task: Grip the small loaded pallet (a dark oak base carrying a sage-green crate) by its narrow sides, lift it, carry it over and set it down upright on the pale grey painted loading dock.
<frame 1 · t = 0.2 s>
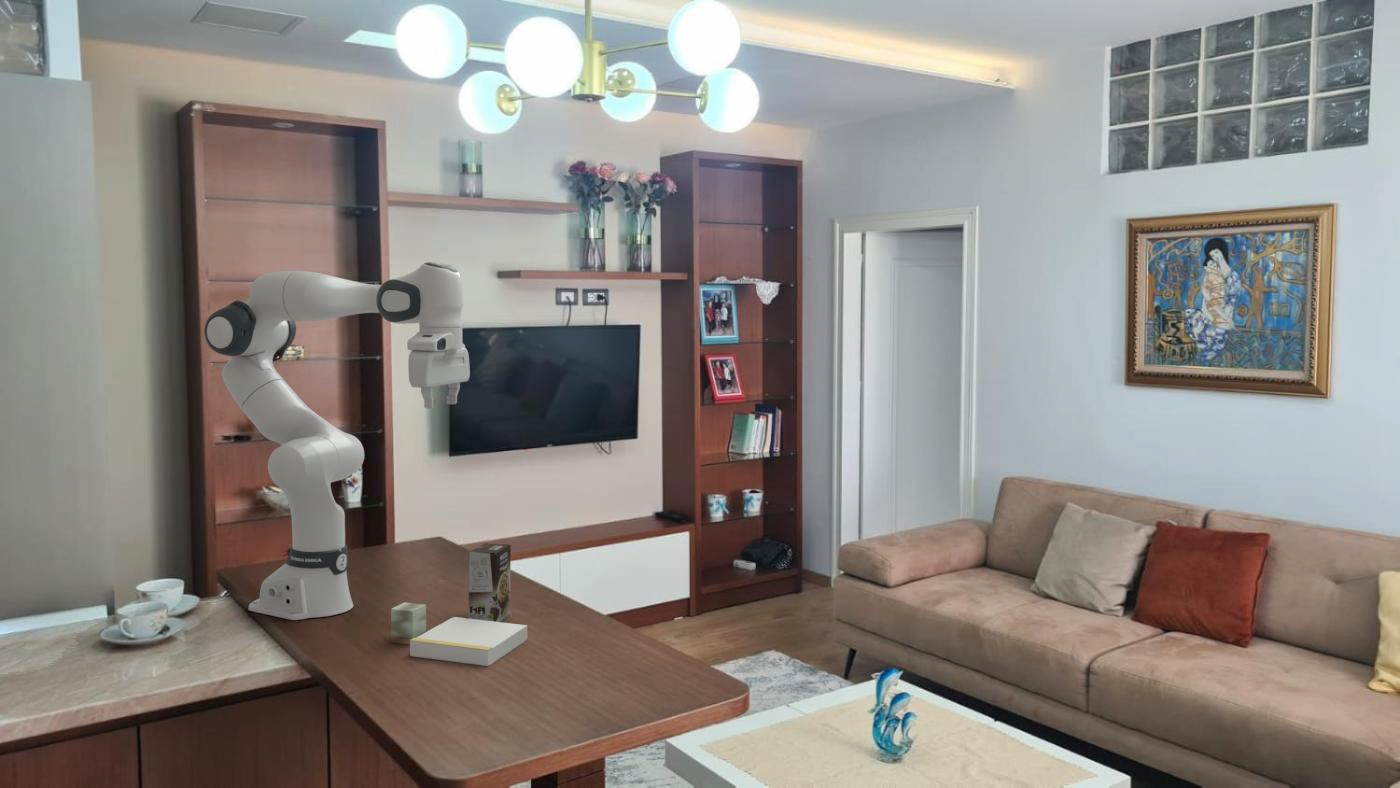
hand: (441, 406, 226), 47 cm above the table, fingers open, 8 cm apart
dock: (470, 647, 216), on the table
loaded pallet: (408, 640, 220), on the table
coffee box: (489, 620, 234), on the table
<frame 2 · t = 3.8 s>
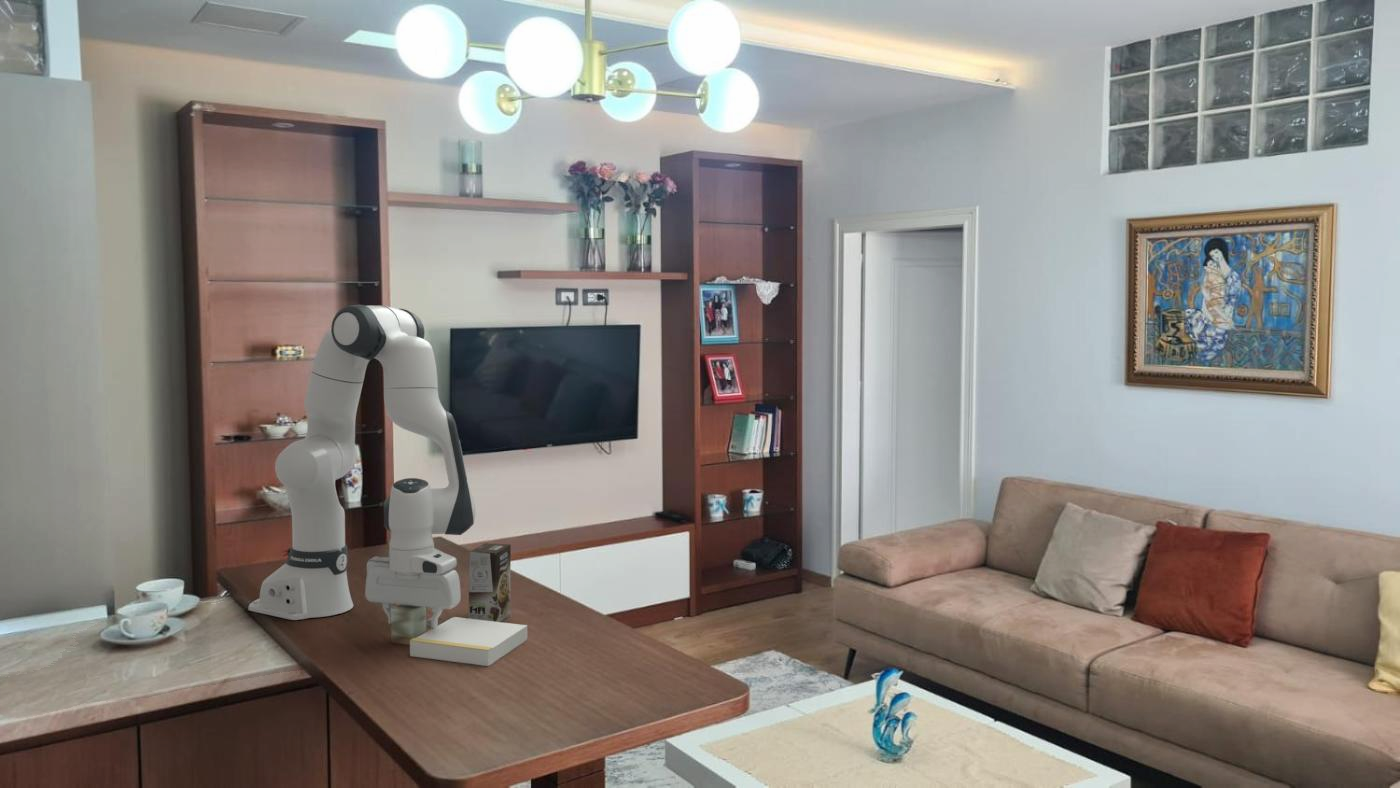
hand: (412, 625, 220), 3 cm above the table, fingers open, 8 cm apart
nothing on the table moved.
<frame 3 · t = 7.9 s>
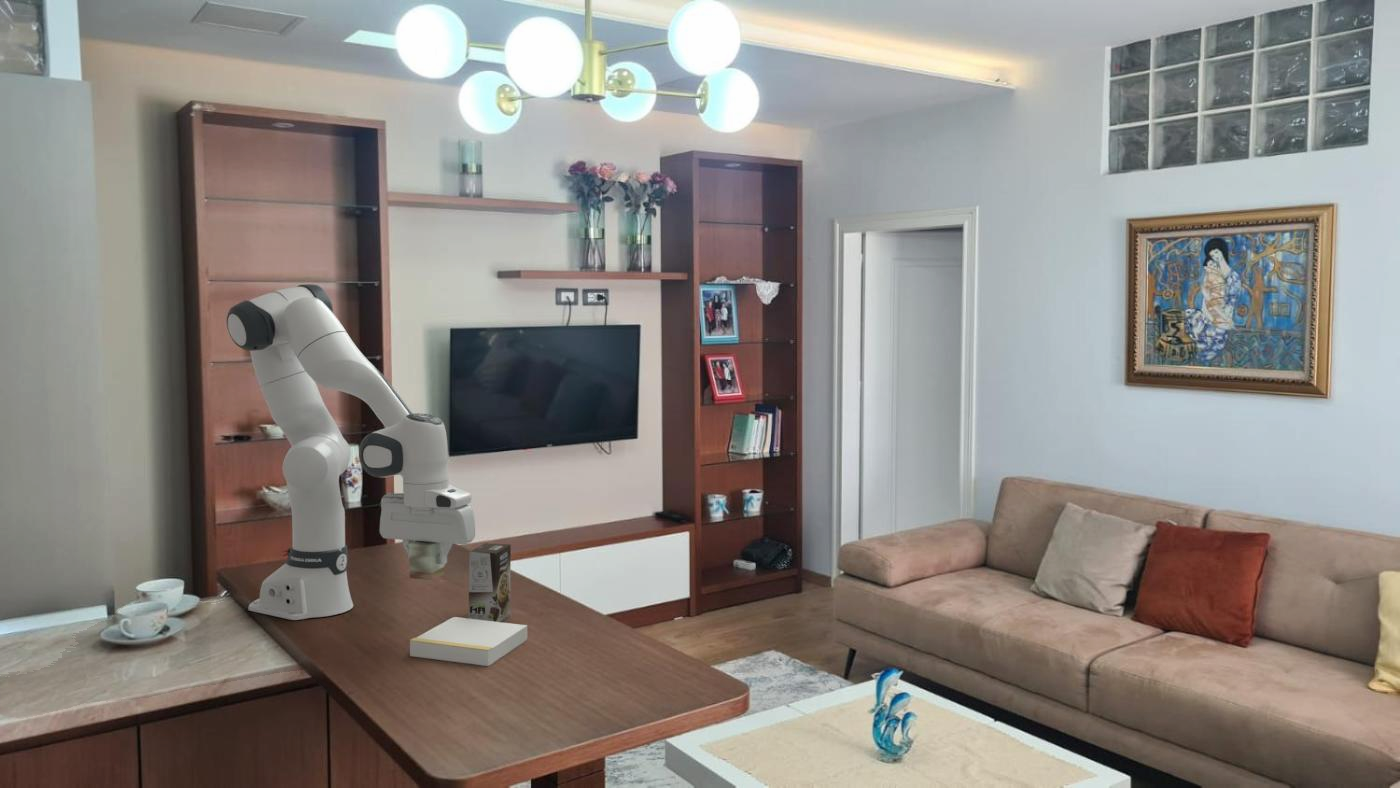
hand: (427, 562, 216), 17 cm above the table, fingers closed on loaded pallet, 5 cm apart
loaded pallet: (427, 575, 216), point 14 cm above the table, touching gripper
everything else where it was.
when the fingers open (7 cm above the table, at t = 11.2 s): loaded pallet stays where it is, resting on dock.
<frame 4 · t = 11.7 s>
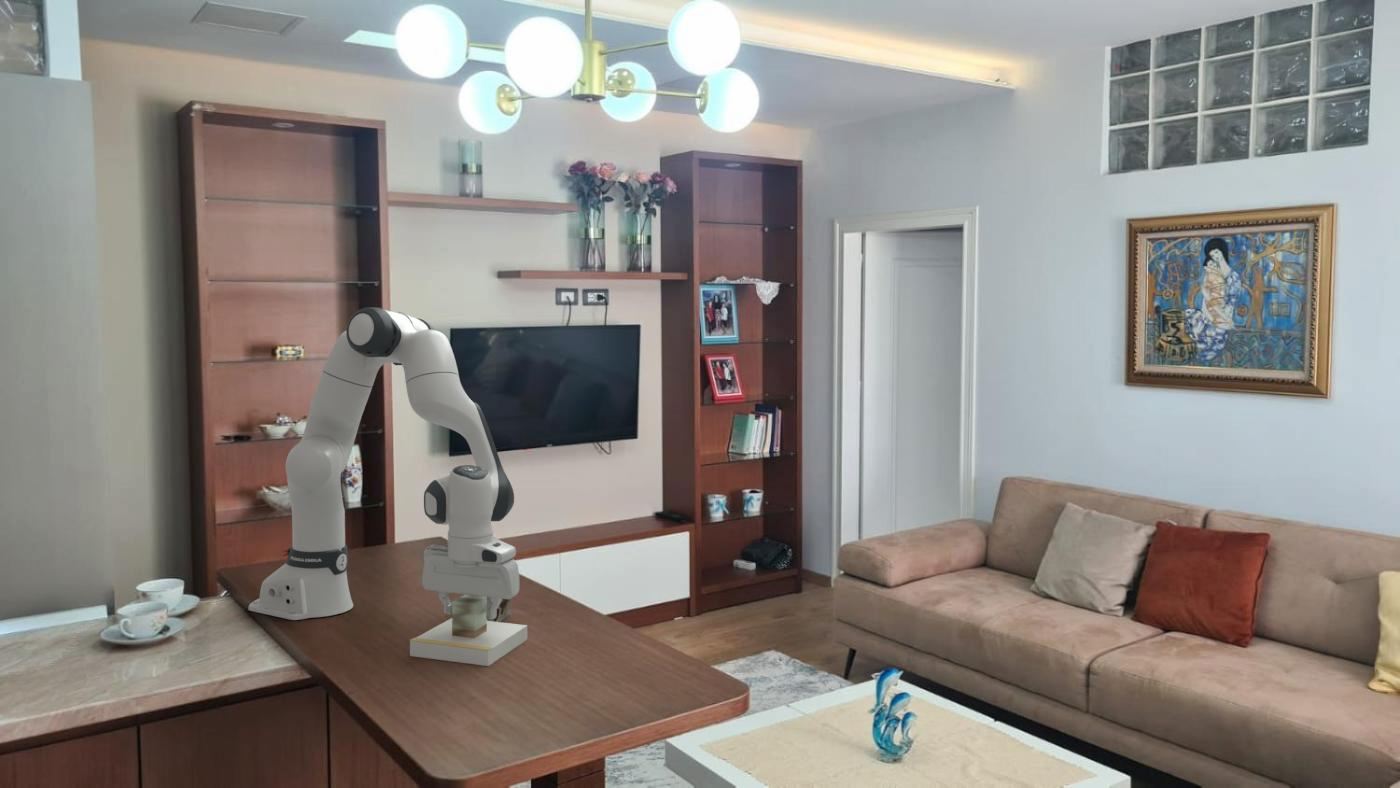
hand: (470, 615, 215), 7 cm above the table, fingers open, 8 cm apart
loaded pallet: (469, 633, 215), point 3 cm above the table, touching dock
everything else where it was.
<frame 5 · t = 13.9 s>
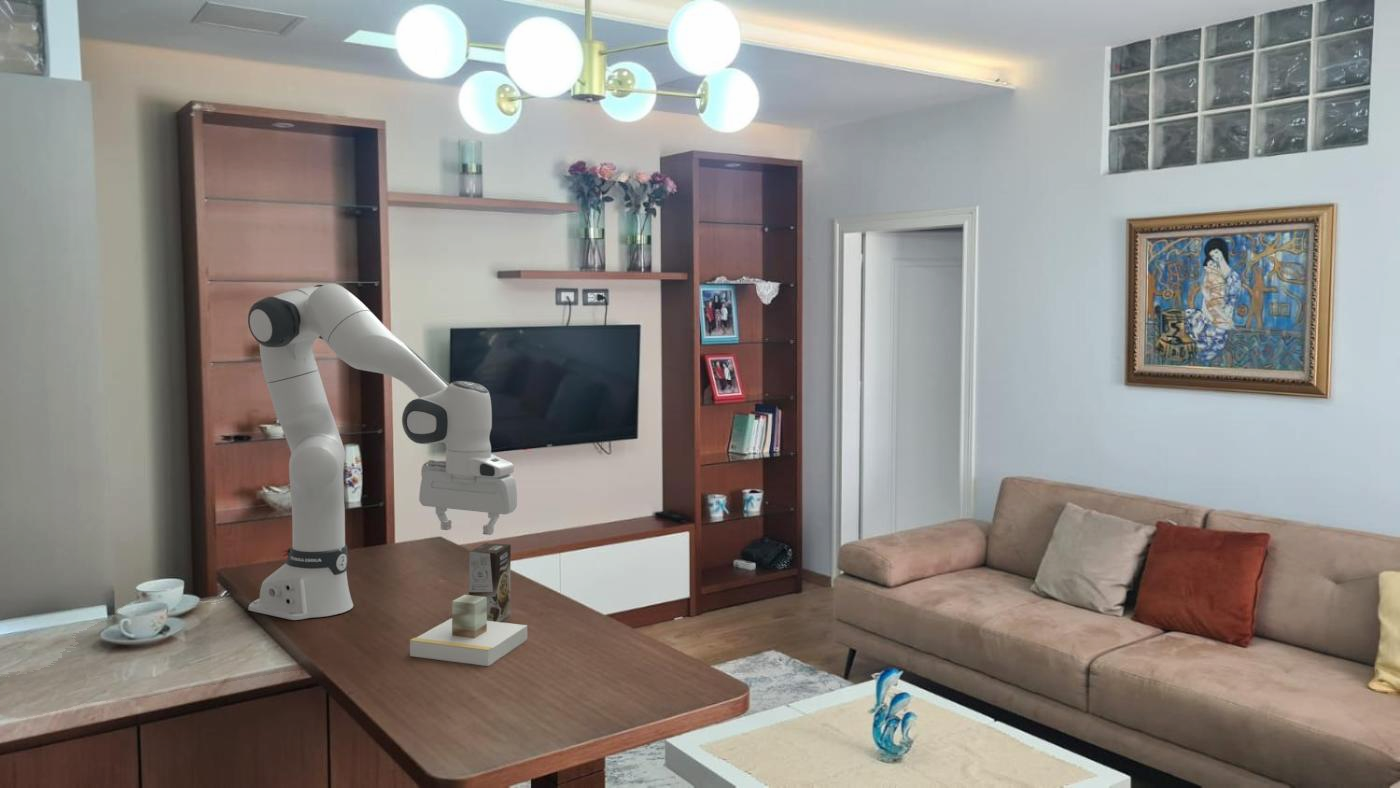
hand: (466, 531, 215), 23 cm above the table, fingers open, 8 cm apart
nothing on the table moved.
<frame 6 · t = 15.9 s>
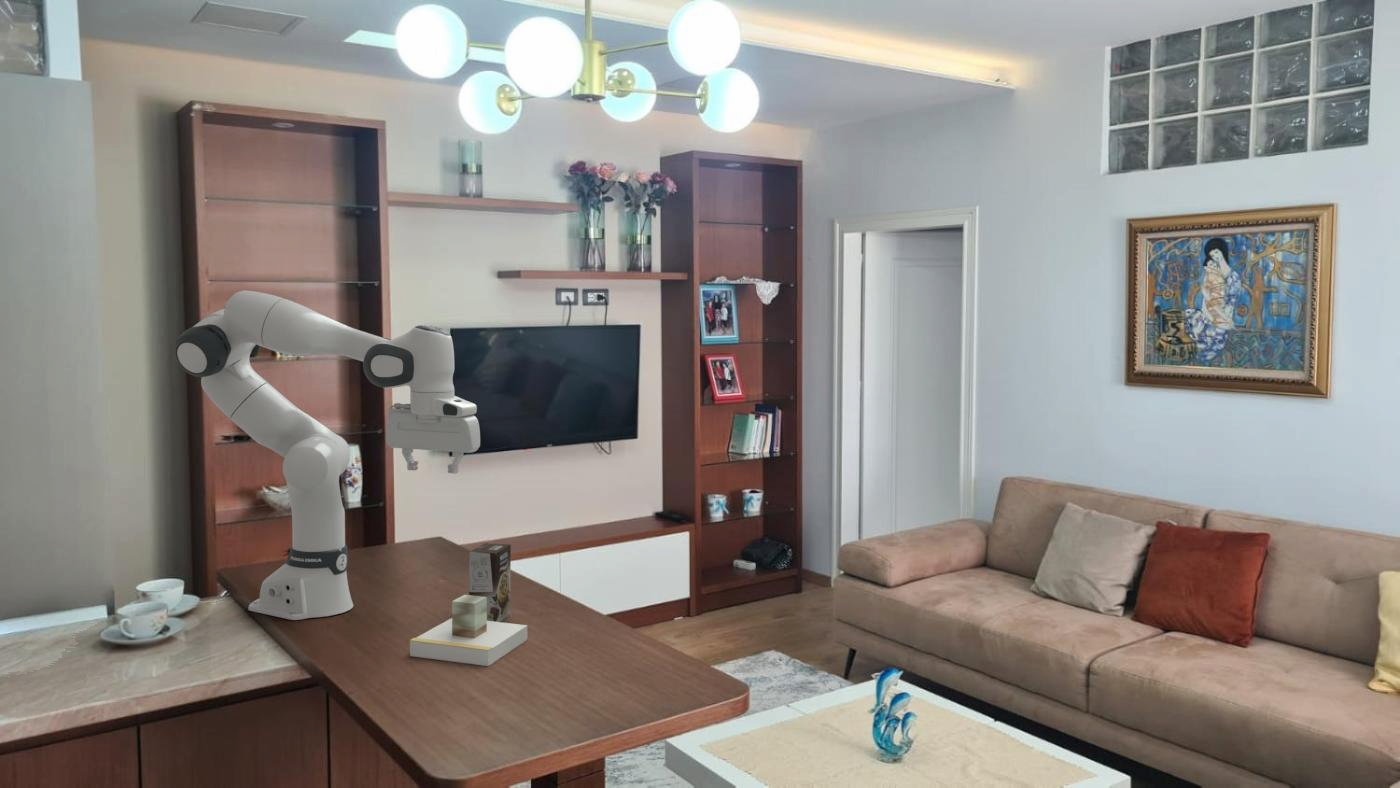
hand: (432, 471, 222), 34 cm above the table, fingers open, 8 cm apart
nothing on the table moved.
at the end: loaded pallet inside the target area on the dock (0.2 cm from its centre), point 3.0 cm above the dock's base; loaded pallet tilted 0°; the gripper is holding nothing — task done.
